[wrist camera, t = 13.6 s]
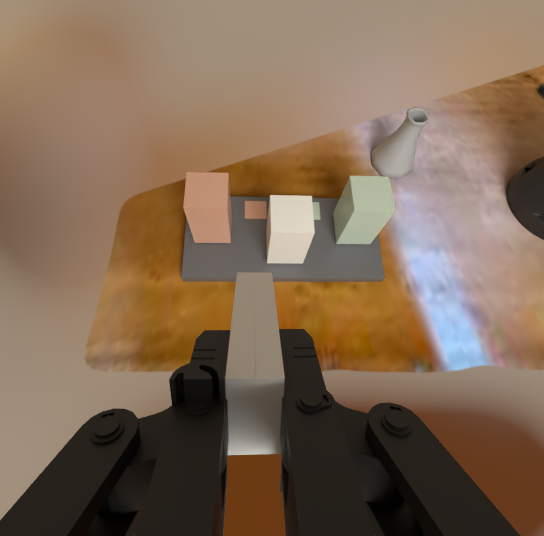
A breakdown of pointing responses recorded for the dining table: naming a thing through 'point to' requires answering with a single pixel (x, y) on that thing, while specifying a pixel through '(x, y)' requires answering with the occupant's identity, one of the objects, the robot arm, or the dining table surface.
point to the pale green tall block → (363, 209)
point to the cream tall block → (289, 228)
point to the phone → (541, 90)
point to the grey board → (253, 258)
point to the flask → (400, 146)
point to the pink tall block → (208, 206)
